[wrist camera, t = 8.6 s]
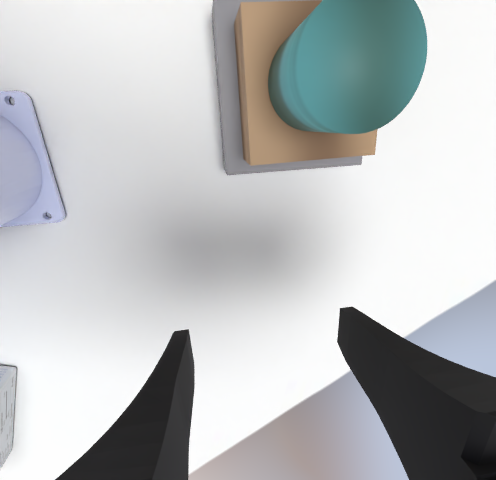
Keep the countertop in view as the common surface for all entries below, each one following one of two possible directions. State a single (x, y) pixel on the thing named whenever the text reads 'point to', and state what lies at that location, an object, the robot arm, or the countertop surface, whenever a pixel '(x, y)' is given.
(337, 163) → the charcoal base block
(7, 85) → the countertop surface
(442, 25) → the countertop surface
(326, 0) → the teal cylinder
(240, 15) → the walnut block
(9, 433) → the light bulb box
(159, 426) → the robot arm
